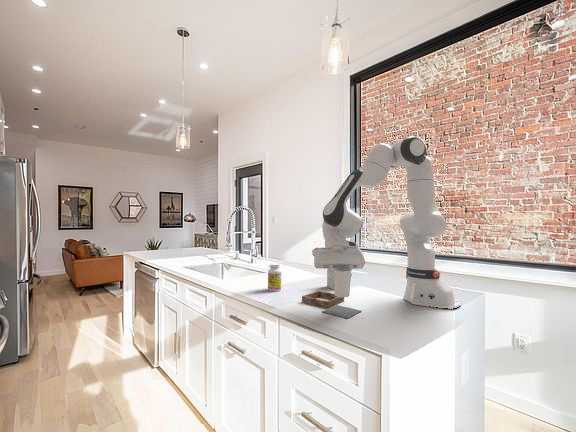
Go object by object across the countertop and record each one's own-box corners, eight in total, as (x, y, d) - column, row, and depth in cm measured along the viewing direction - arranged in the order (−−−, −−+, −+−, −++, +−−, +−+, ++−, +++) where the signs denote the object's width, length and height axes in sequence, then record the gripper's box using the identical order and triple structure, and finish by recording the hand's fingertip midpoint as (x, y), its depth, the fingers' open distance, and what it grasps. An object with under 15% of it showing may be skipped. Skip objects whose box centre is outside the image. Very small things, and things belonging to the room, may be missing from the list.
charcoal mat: (361, 311, 118) (361, 310, 118) (347, 318, 109) (347, 317, 109) (336, 305, 125) (336, 304, 125) (321, 312, 116) (321, 311, 116)
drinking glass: (349, 298, 113) (349, 272, 112) (331, 296, 115) (332, 270, 114) (351, 293, 119) (352, 268, 118) (335, 291, 121) (335, 266, 121)
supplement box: (345, 289, 154) (346, 264, 154) (332, 289, 152) (332, 264, 152) (339, 285, 161) (339, 261, 161) (326, 286, 159) (326, 262, 159)
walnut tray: (344, 301, 131) (344, 295, 131) (328, 308, 121) (328, 302, 121) (318, 295, 140) (319, 290, 140) (302, 302, 130) (302, 296, 130)
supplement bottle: (265, 289, 150) (265, 263, 150) (274, 287, 154) (275, 262, 154) (274, 292, 145) (274, 265, 145) (284, 290, 150) (284, 264, 150)
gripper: (312, 242, 123) (316, 271, 113) (361, 243, 125) (370, 271, 115) (310, 252, 127) (314, 281, 117) (358, 252, 129) (365, 281, 119)
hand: (342, 276), depth 116 cm, fingers closed on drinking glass, 4 cm apart
